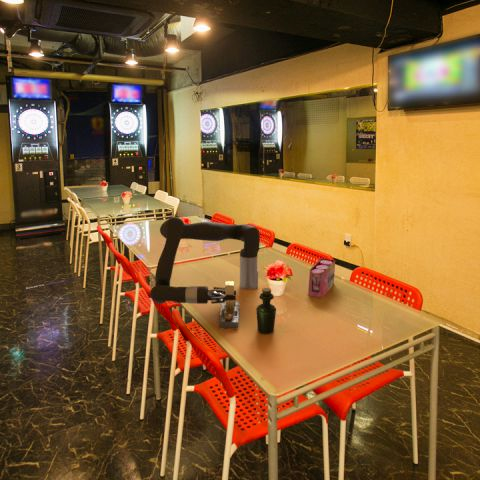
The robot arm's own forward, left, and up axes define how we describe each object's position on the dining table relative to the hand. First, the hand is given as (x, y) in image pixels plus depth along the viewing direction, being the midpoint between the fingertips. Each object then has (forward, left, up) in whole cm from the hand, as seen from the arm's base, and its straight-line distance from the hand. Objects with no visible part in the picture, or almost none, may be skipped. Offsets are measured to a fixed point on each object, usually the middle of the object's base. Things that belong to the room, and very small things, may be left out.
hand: (235, 295), depth 182 cm
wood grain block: (+3, 0, -8) cm, 8 cm away
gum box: (-50, -28, -11) cm, 58 cm away
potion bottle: (-10, +15, -11) cm, 21 cm away
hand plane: (+3, 0, -11) cm, 11 cm away
